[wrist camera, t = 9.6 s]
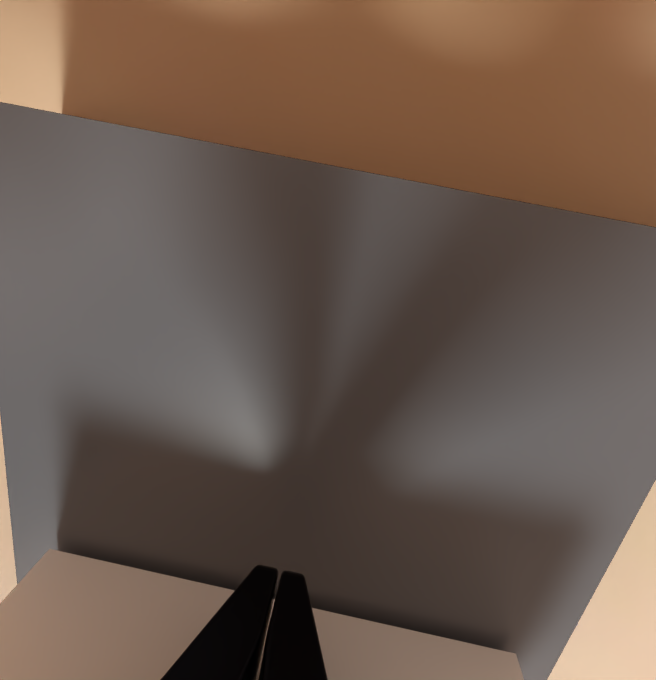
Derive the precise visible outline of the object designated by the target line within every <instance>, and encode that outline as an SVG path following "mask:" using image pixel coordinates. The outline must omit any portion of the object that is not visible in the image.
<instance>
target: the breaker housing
mask: <svg viewBox="0 0 656 680" xmlns="http://www.w3.org/2000/svg"><path fill="white" fill-rule="evenodd" d="M0 415H1V425H2V435H3V445H4V455H5V465H6V475H7V486H8V496H9V506H10V516H11V526H12V536H13V546H14V556H15V566H16V576H17V585H18V583H19V582H20V581H21V580H22V579H23V578H24V577H25V576H26V574H27V573H28V572H29V571H30V570H31V569H32V568H33V567H34V566H35V564H36V563H37V562H38V561H39V560H40V559H41V558H42V557H43V555H44V554H45V553H46V552H47V551H48V550H49V549H53V550H58V551H62V552H66V553H71V554H75V555H80V556H84V557H89V558H93V559H97V560H102V561H106V562H111V563H115V564H120V565H124V566H129V567H133V568H137V569H142V570H146V571H151V572H155V573H160V574H164V575H169V576H173V577H177V578H182V579H186V580H191V581H195V582H200V583H204V584H209V585H213V586H217V587H222V588H226V589H231V590H236V588H237V587H238V586H239V585H240V584H241V582H242V581H243V580H244V579H245V578H246V577H247V575H248V574H249V573H250V572H251V571H252V569H253V568H254V567H255V566H257V565H264V566H269V567H273V568H276V569H277V570H278V578H277V583H276V589H275V594H274V599H275V598H276V594H277V590H278V586H279V582H280V578H281V574H282V572H283V571H285V570H287V571H292V572H296V573H301V574H303V575H304V577H305V579H306V583H307V588H308V592H309V597H310V601H311V606H312V608H315V609H320V610H324V611H329V612H333V613H337V614H342V615H346V616H351V617H355V618H360V619H364V620H369V621H373V622H377V623H382V624H386V625H391V626H395V627H400V628H404V629H408V630H413V631H417V632H422V633H426V634H431V635H435V636H440V637H444V638H448V639H453V640H457V641H462V642H466V643H471V644H475V645H480V646H484V647H488V648H493V649H497V650H502V651H506V652H511V653H515V654H516V655H517V659H518V662H519V665H520V668H521V672H522V675H523V678H524V680H547V679H548V677H549V675H550V673H551V671H552V669H553V668H554V666H555V664H556V662H557V660H558V658H559V656H560V655H561V653H562V651H563V649H564V647H565V645H566V644H567V642H568V640H569V638H570V636H571V634H572V633H573V631H574V629H575V627H576V625H577V623H578V622H579V620H580V618H581V616H582V614H583V612H584V610H585V609H586V607H587V605H588V603H589V601H590V599H591V598H592V596H593V594H594V592H595V590H596V588H597V587H598V585H599V583H600V581H601V579H602V577H603V576H604V574H605V572H606V570H607V568H608V566H609V564H610V563H611V561H612V559H613V557H614V555H615V553H616V552H617V550H618V548H619V546H620V544H621V542H622V541H623V539H624V537H625V535H626V533H627V531H628V530H629V528H630V526H631V524H632V522H633V520H634V519H635V517H636V515H637V513H638V511H639V509H640V507H641V506H642V504H643V502H644V500H645V498H646V496H647V495H648V493H649V491H650V489H651V487H652V485H653V484H654V482H655V480H656V227H651V226H646V225H640V224H635V223H630V222H625V221H619V220H614V219H609V218H604V217H598V216H593V215H588V214H583V213H578V212H572V211H567V210H562V209H557V208H551V207H546V206H541V205H536V204H530V203H525V202H520V201H515V200H510V199H504V198H499V197H494V196H489V195H483V194H478V193H473V192H468V191H462V190H457V189H452V188H447V187H442V186H436V185H431V184H426V183H421V182H415V181H410V180H405V179H400V178H394V177H389V176H384V175H379V174H374V173H368V172H363V171H358V170H353V169H347V168H342V167H337V166H332V165H326V164H321V163H316V162H311V161H306V160H300V159H295V158H290V157H285V156H279V155H274V154H269V153H264V152H258V151H253V150H248V149H243V148H238V147H232V146H227V145H222V144H217V143H211V142H206V141H201V140H196V139H190V138H185V137H180V136H175V135H170V134H164V133H159V132H154V131H149V130H143V129H138V128H133V127H128V126H123V125H117V124H112V123H107V122H102V121H96V120H91V119H86V118H81V117H75V116H70V115H65V114H60V113H55V112H49V111H44V110H39V109H34V108H28V107H23V106H18V105H13V104H7V103H2V102H0Z"/></svg>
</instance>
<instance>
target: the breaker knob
mask: <svg viewBox="0 0 656 680" xmlns="http://www.w3.org/2000/svg"><path fill="white" fill-rule="evenodd" d="M234 591H235V590H231V589H226V588H222V587H217V586H213V585H209V584H204V583H200V582H195V581H191V580H186V579H182V578H177V577H173V576H169V575H164V574H160V573H155V572H151V571H146V570H142V569H137V568H133V567H129V566H124V565H120V564H115V563H111V562H106V561H102V560H97V559H93V558H89V557H84V556H80V555H75V554H71V553H66V552H62V551H58V550H53V549H49V550H48V551H47V552H46V553H45V554H44V555H43V557H42V558H41V559H40V560H39V561H38V562H37V563H36V564H35V566H34V567H33V568H32V569H31V570H30V571H29V572H28V573H27V574H26V576H25V577H24V578H23V579H22V580H21V581H20V582H19V583H18V585H17V586H16V587H15V588H14V589H13V590H12V591H11V592H10V593H9V595H8V596H7V597H6V598H5V599H4V600H3V601H2V602H1V603H0V680H160V679H161V678H162V677H163V676H164V675H165V673H166V672H167V671H168V670H169V669H170V667H171V666H172V665H173V664H174V663H175V661H176V660H177V659H178V658H179V657H180V655H181V654H182V653H183V652H184V651H185V649H186V648H187V647H188V646H189V645H190V643H191V642H192V641H193V640H194V639H195V637H196V636H197V635H198V634H199V633H200V632H201V630H202V629H203V628H204V627H205V626H206V624H207V623H208V622H209V621H210V620H211V618H212V617H213V616H214V615H215V614H216V612H217V611H218V610H219V609H220V608H221V606H222V605H223V604H224V603H225V602H226V600H227V599H228V598H229V597H230V596H231V594H232V593H233V592H234ZM274 602H275V599H274V600H273V605H272V610H273V606H274ZM272 610H271V614H272ZM312 610H313V615H314V619H315V624H316V629H317V633H318V638H319V642H320V647H321V651H322V656H323V660H324V665H325V669H326V674H327V679H328V680H524V678H523V675H522V672H521V668H520V665H519V662H518V659H517V655H516V654H515V653H511V652H506V651H502V650H497V649H493V648H488V647H484V646H480V645H475V644H471V643H466V642H462V641H457V640H453V639H448V638H444V637H440V636H435V635H431V634H426V633H422V632H417V631H413V630H408V629H404V628H400V627H395V626H391V625H386V624H382V623H377V622H373V621H369V620H364V619H360V618H355V617H351V616H346V615H342V614H337V613H333V612H329V611H324V610H320V609H315V608H312ZM270 618H271V615H270ZM269 622H270V619H269ZM268 626H269V623H268ZM267 631H268V628H267ZM266 636H267V632H266ZM265 641H266V637H265ZM265 641H264V646H263V650H262V654H261V659H260V663H259V668H258V672H257V676H256V680H259V674H260V669H261V663H262V658H263V652H264V647H265Z"/></svg>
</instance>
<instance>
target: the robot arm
mask: <svg viewBox="0 0 656 680" xmlns="http://www.w3.org/2000/svg"><path fill="white" fill-rule="evenodd" d="M277 578H278V570H277V569H276V568H273V567H269V566H264V565H257V566H255V567H254V568H253V569H252V571H251V572H250V573H249V574H248V575H247V577H246V578H245V579H244V580H243V581H242V582H241V584H240V585H239V586H238V587H237V588H236V590H235V591H234V592H233V593H232V594H231V596H230V597H229V598H228V599H227V600H226V602H225V603H224V604H223V605H222V606H221V608H220V609H219V610H218V611H217V612H216V614H215V615H214V616H213V617H212V618H211V620H210V621H209V622H208V623H207V624H206V626H205V627H204V628H203V629H202V630H201V632H200V633H199V634H198V635H197V636H196V637H195V639H194V640H193V641H192V642H191V643H190V645H189V646H188V647H187V648H186V649H185V651H184V652H183V653H182V654H181V655H180V657H179V658H178V659H177V660H176V661H175V663H174V664H173V665H172V666H171V667H170V669H169V670H168V671H167V672H166V673H165V675H164V676H163V677H162V678H161V679H160V680H256V676H257V672H258V668H259V663H260V659H261V654H262V650H263V646H264V641H265V637H266V641H265V647H264V652H263V658H262V663H261V669H260V674H259V680H328V679H327V674H326V669H325V665H324V660H323V656H322V651H321V647H320V642H319V638H318V633H317V629H316V624H315V619H314V615H313V610H312V606H311V601H310V597H309V592H308V588H307V583H306V579H305V577H304V575H303V574H301V573H296V572H292V571H287V570H285V571H283V572H282V574H281V578H280V582H279V586H278V590H277V594H276V598H275V602H274V606H273V610H272V605H273V600H274V594H275V589H276V583H277ZM271 610H272V614H271ZM270 615H271V618H270ZM269 619H270V622H269ZM268 623H269V626H268ZM267 628H268V631H267ZM266 632H267V636H266Z"/></svg>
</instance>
